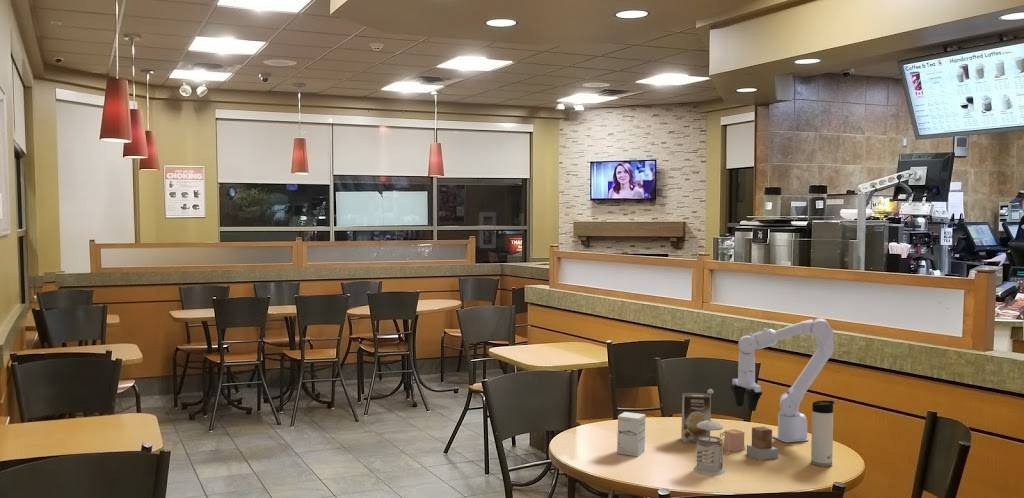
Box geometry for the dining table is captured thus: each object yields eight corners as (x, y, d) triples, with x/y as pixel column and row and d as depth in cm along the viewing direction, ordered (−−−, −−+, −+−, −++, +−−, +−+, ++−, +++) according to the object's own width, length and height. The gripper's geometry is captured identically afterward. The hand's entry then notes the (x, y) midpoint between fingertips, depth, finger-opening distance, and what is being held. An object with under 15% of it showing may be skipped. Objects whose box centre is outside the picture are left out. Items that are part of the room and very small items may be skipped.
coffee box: (682, 442, 290) (683, 396, 290) (681, 438, 297) (681, 392, 296) (710, 443, 289) (710, 397, 289) (707, 438, 296) (708, 393, 295)
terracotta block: (733, 446, 286) (733, 429, 286) (744, 449, 282) (744, 431, 282) (724, 448, 284) (724, 430, 283) (734, 451, 280) (734, 433, 280)
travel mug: (835, 467, 263) (836, 403, 262) (812, 466, 264) (813, 402, 263) (831, 461, 269) (832, 399, 268) (809, 460, 270) (810, 398, 269)
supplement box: (616, 454, 276) (616, 415, 276) (624, 448, 283) (624, 411, 282) (638, 457, 273) (638, 418, 272) (645, 451, 279) (646, 413, 279)
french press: (702, 463, 266) (703, 384, 265) (736, 470, 259) (738, 389, 258) (687, 470, 259) (688, 389, 258) (722, 478, 251) (723, 394, 250)
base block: (765, 452, 279) (765, 443, 279) (777, 458, 272) (778, 448, 272) (746, 454, 277) (746, 444, 277) (759, 460, 270) (759, 450, 270)
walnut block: (763, 444, 277) (763, 426, 277) (771, 448, 273) (772, 429, 273) (751, 445, 276) (751, 427, 276) (759, 449, 272) (760, 430, 271)
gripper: (725, 367, 304) (724, 404, 305) (748, 374, 290) (748, 413, 291) (742, 366, 306) (741, 403, 307) (766, 373, 292) (765, 412, 293)
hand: (746, 408), depth 299 cm, fingers open, 7 cm apart
